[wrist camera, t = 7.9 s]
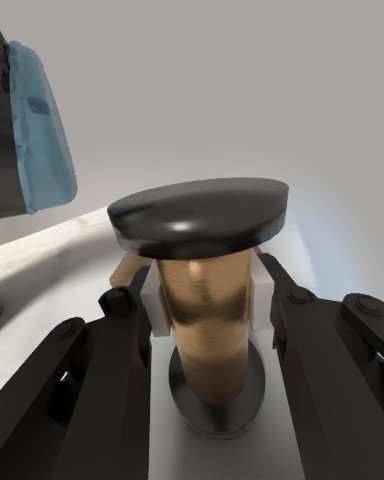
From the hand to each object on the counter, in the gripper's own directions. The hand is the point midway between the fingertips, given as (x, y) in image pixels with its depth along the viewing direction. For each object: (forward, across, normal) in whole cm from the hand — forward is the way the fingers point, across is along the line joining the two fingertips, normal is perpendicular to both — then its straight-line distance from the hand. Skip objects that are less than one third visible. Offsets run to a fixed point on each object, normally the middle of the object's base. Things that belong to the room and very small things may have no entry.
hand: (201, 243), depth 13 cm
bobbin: (-5, 0, -7) cm, 9 cm away
